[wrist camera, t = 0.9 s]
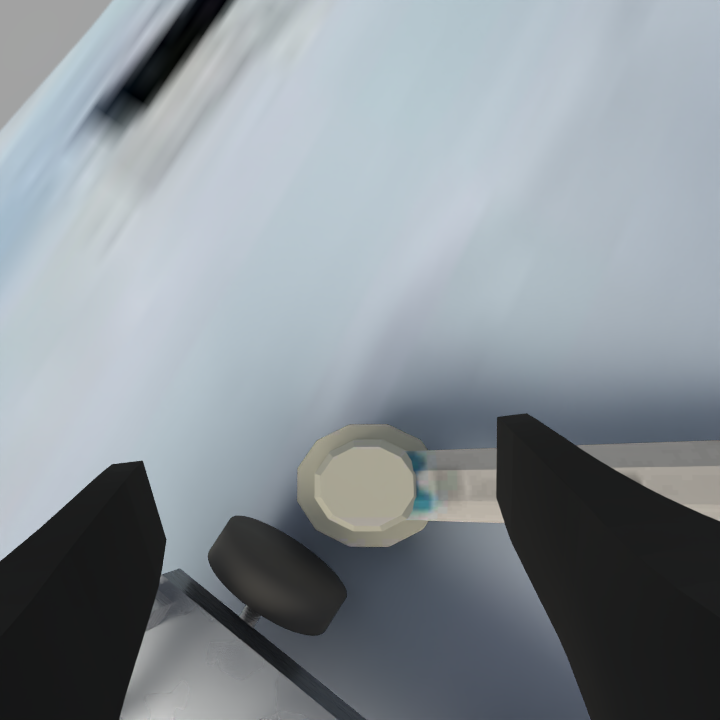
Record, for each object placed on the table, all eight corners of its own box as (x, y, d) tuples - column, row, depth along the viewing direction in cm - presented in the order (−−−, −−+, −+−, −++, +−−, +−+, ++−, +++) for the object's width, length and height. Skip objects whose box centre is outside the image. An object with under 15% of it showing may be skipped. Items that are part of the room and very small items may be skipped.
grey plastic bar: (993, 561, 21) (280, 560, 22) (847, 540, 27) (304, 539, 28) (964, 411, 22) (283, 416, 23) (830, 426, 28) (305, 429, 29)
